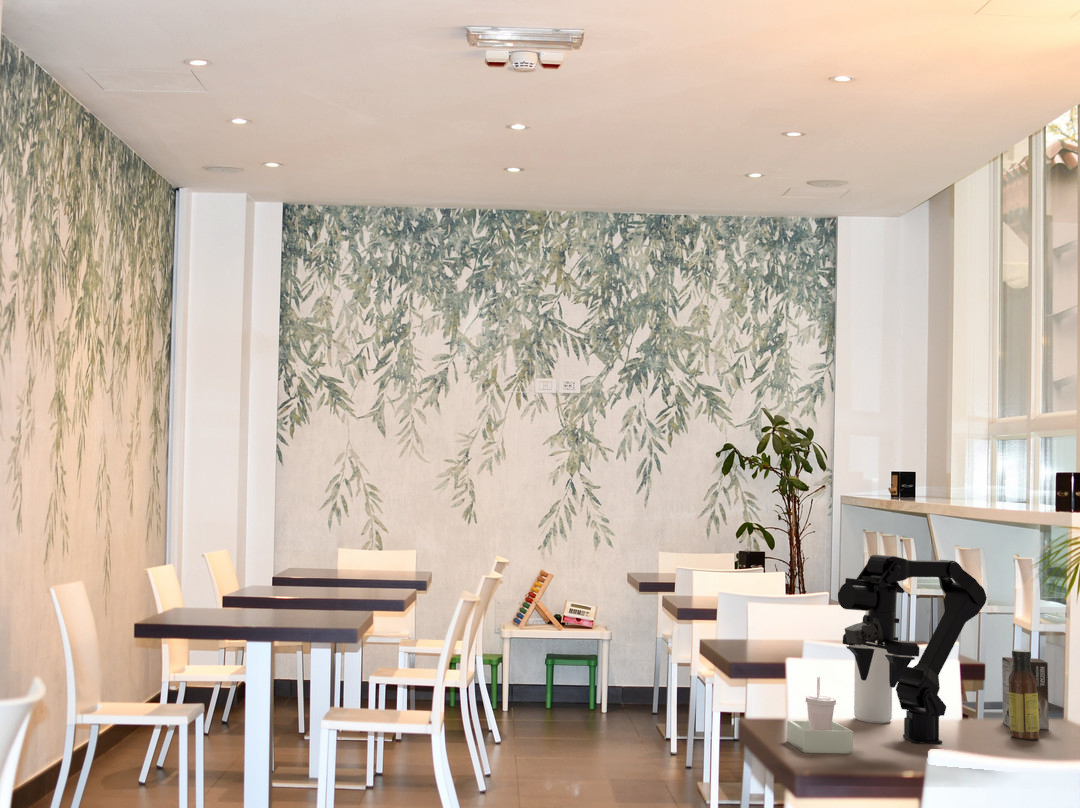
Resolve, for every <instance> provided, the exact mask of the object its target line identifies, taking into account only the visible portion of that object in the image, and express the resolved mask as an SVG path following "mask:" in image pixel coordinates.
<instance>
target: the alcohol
mask: <svg viewBox="0 0 1080 808" xmlns="http://www.w3.org/2000/svg"><path fill="white" fill-rule="evenodd" d="M868 611H869V610H868ZM868 611H865V614H864V615H868ZM875 643H877V641H875ZM884 646H885V645H884ZM868 648H871V649H874V653H873V657H872V661H871V665H870V669H869V673H868V676H867V679H866V680H861V677H860V673H859V669H858V665H857V662H856V659H855V658H854V685H853V686H854V688H853V691H854V692H853V694H854V696H853V698H854V701H853V702H854V703H853V704H854V705H853V711H854V712H853V714H854V717H855V719H856V720H857V721H859V722H863V723H867V724H868V723H870V724H880V725H881V724H883V725H884V724H888V723H890V722H891V720H892V718H893V688H892V687H890V683H889V661H888V659H887V658H886V656H885V655H892V654H889V653H888V652H887V650H886V649H882V648H877V647H869V646H868Z"/></svg>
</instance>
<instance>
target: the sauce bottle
mask: <svg viewBox="0 0 1080 808" xmlns="http://www.w3.org/2000/svg"><path fill="white" fill-rule="evenodd" d="M1011 656H1012V658H1013V671H1012V673H1011V674H1010V676H1009V678H1008V680H1009V714H1010V727H1009V729H1010V734H1011V737H1013V738H1015V739H1020V740H1028V741H1029V740H1030V741H1032V740H1033V741H1035V740H1038V739H1039V738H1040V733H1039V732H1040V729H1039V710H1038V692H1037V680H1036V678H1035V676H1034V675H1033V673H1032V671H1031V666H1030V665H1031V664H1030V658H1032V652H1031V650H1028V649H1012V650H1011Z"/></svg>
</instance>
